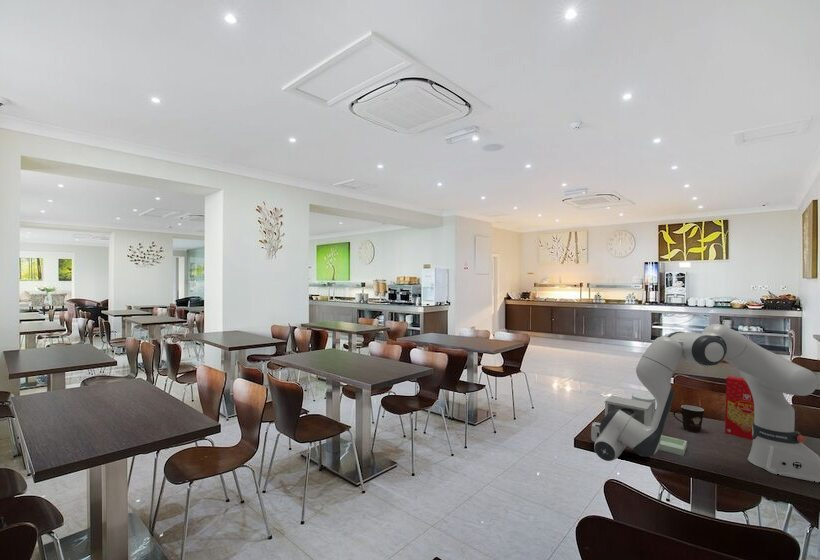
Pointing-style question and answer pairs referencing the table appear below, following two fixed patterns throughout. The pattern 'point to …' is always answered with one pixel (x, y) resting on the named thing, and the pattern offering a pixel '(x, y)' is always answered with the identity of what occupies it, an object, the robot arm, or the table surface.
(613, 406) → the bay
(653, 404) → the white rounded slab
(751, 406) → the food packaging
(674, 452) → the tray
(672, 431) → the table surface
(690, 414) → the coffee mug
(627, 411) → the white and grey box
